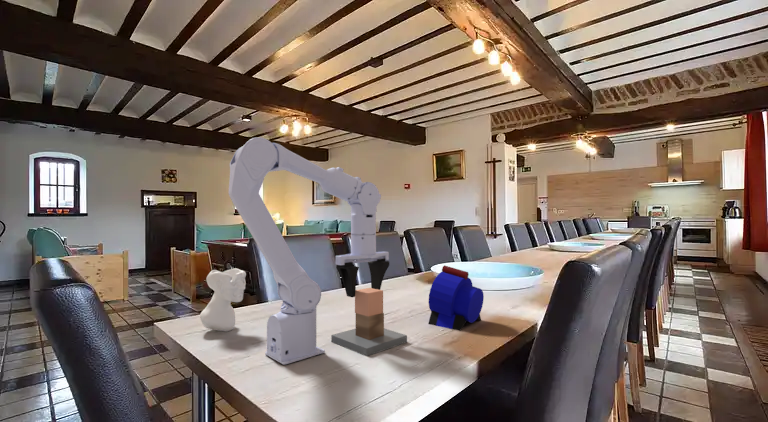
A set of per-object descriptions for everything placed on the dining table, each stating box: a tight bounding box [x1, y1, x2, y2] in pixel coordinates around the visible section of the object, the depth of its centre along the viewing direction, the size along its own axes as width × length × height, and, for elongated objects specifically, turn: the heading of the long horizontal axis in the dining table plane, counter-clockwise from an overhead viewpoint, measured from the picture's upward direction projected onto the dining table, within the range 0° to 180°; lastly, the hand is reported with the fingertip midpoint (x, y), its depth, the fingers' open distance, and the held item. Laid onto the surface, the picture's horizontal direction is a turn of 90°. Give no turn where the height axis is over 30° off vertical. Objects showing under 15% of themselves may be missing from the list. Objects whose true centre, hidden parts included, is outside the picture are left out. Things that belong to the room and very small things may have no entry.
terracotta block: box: [354, 287, 384, 316], centre depth 82 cm, size 4×4×5 cm
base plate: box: [330, 327, 408, 357], centre depth 82 cm, size 12×12×2 cm
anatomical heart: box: [199, 267, 247, 332], centre depth 90 cm, size 10×11×15 cm
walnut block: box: [355, 312, 385, 340], centre depth 82 cm, size 4×4×5 cm
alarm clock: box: [428, 265, 484, 331], centre depth 97 cm, size 12×12×15 cm
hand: (363, 294), depth 83 cm, fingers open, 7 cm apart
